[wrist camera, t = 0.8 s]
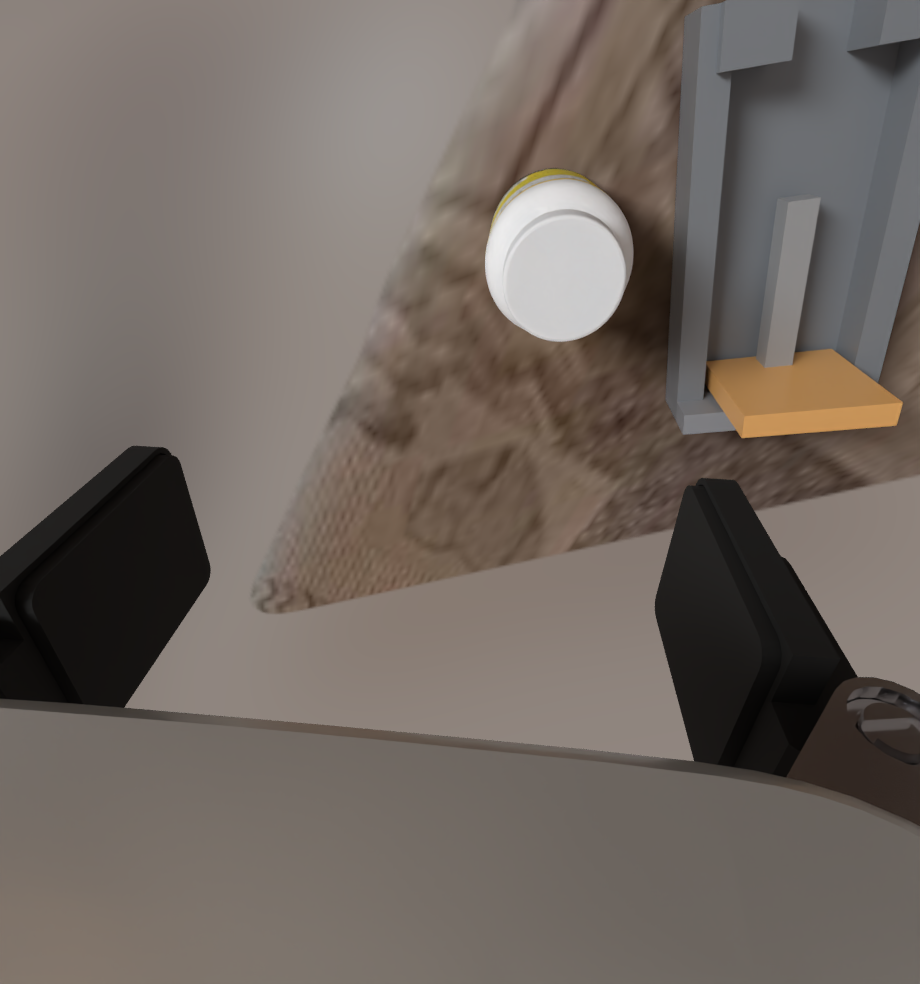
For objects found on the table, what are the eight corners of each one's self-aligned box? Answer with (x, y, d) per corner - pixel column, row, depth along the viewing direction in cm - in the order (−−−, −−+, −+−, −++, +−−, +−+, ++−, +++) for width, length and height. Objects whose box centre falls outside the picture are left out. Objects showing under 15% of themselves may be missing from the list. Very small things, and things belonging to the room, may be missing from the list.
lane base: (942, -32, 21) (1023, -60, 17) (847, 383, 29) (889, 417, 26) (684, 17, 22) (713, -1, 19) (665, 399, 31) (683, 434, 27)
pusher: (865, 184, 24) (960, 204, 19) (827, 368, 28) (896, 425, 23) (717, 205, 25) (768, 229, 20) (702, 380, 29) (741, 438, 24)
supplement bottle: (608, 287, 28) (643, 358, 20) (495, 296, 29) (485, 369, 20) (611, 158, 25) (655, 179, 17) (486, 173, 26) (470, 200, 18)
